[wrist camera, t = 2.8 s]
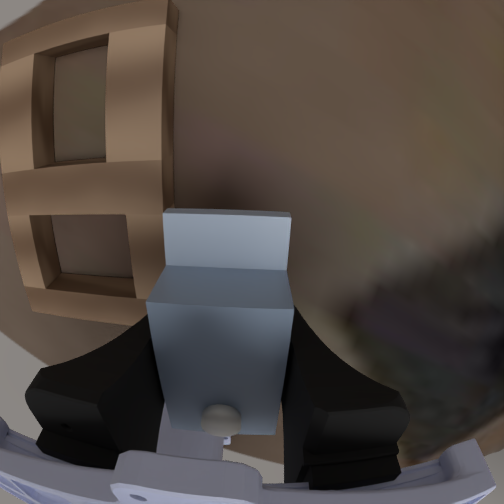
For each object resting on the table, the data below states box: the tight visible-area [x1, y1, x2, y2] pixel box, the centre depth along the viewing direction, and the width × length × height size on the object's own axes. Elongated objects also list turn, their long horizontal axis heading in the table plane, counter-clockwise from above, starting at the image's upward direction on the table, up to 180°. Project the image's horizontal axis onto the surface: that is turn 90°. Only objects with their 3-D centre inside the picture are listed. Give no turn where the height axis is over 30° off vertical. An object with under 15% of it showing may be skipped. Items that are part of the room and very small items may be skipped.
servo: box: [146, 208, 294, 437], centre depth 12 cm, size 4×10×6 cm, turn 178°
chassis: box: [0, 0, 179, 326], centre depth 17 cm, size 20×12×2 cm, turn 178°
